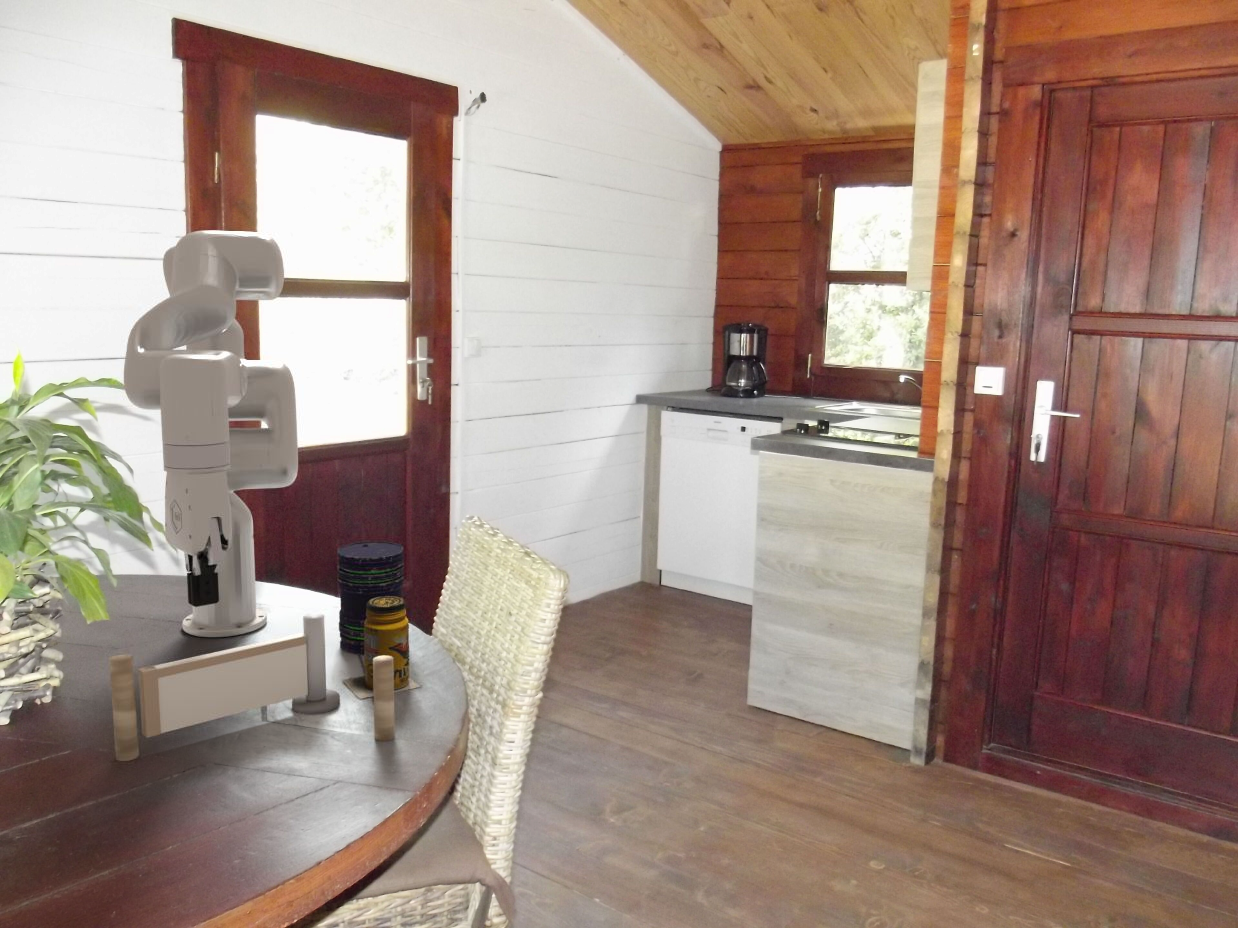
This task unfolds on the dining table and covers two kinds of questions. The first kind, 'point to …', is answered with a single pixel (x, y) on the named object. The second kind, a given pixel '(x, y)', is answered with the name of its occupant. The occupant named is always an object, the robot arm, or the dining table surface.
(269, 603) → the dining table surface
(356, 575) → the storage jar
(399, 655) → the condiment
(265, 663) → the gate
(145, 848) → the dining table surface
